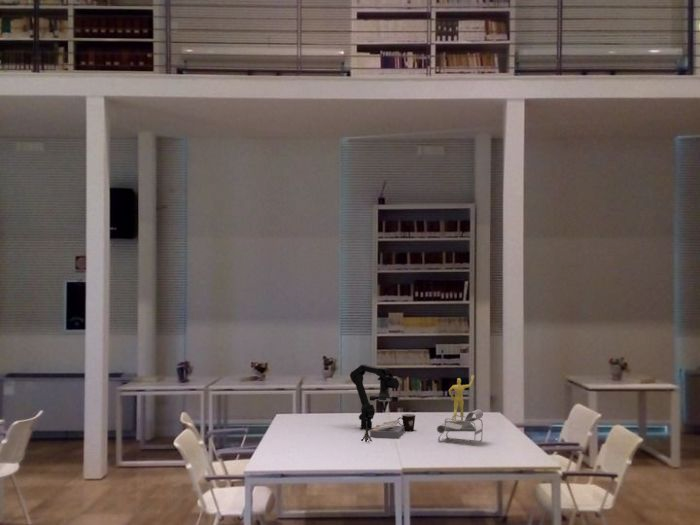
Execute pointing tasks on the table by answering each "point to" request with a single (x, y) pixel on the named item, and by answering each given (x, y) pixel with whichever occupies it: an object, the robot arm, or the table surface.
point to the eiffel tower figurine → (366, 435)
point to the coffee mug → (408, 421)
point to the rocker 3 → (387, 426)
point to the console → (387, 432)
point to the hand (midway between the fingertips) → (384, 411)
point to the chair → (456, 426)
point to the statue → (460, 404)
